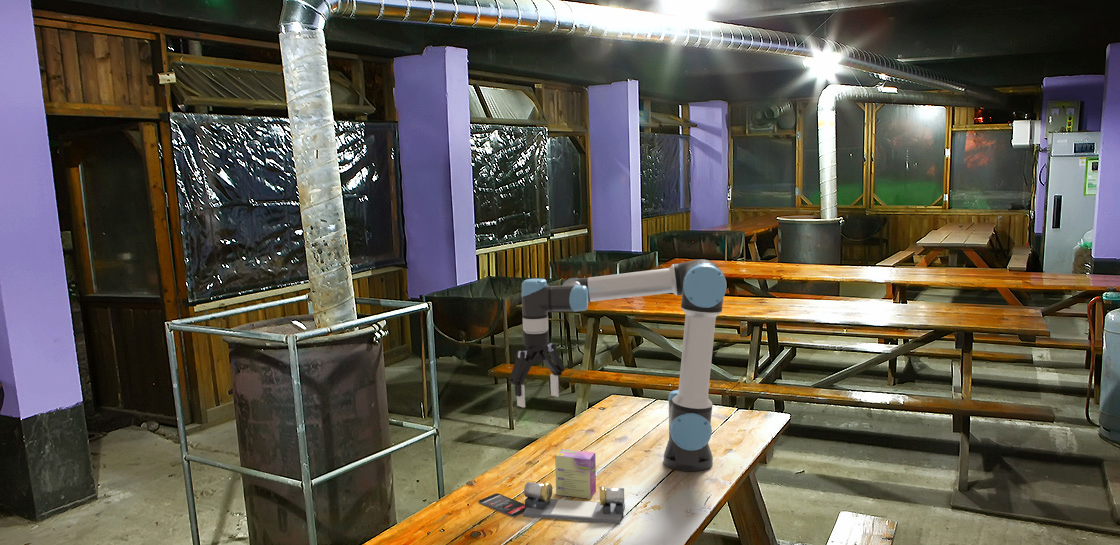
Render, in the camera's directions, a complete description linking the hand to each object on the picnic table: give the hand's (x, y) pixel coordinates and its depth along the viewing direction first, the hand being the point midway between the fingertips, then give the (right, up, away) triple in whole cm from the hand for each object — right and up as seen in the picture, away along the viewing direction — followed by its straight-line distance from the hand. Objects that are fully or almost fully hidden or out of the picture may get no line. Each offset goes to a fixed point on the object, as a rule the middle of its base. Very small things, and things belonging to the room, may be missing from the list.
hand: (538, 401), depth 228 cm
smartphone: (-9, -27, -16) cm, 32 cm away
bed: (+10, -26, -22) cm, 36 cm away
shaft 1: (+1, -26, -19) cm, 32 cm away
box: (+11, -25, -10) cm, 29 cm away
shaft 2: (+20, -26, -23) cm, 41 cm away
